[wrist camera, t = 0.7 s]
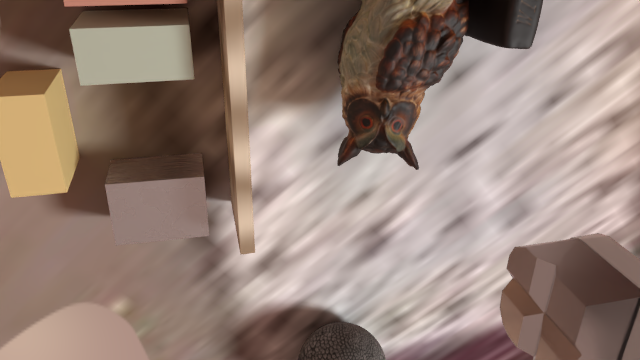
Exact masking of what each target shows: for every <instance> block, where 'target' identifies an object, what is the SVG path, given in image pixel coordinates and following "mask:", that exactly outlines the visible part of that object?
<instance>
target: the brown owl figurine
mask: <svg viewBox="0 0 640 360" xmlns="http://www.w3.org/2000/svg"><path fill="white" fill-rule="evenodd" d="M542 3H543V0H362V4H361V9H360V11H359V12H358V13H357V14H356V15H355V16H354V17H353V18H352V19H351V20H350V21H349V23H348V25H347V27H346V28H345V29H344V31H343V35H342V41H341V48H340V51H339V55H338V65H339V69H338V71H339V73H340V74H341V75H340V80H341V86H342V88H343V89H342V91H341V95H342V100H343V101H342V105H343V110H342V113H343V115H342V117H343V118H344V120H345V123H346V126H347V127H348V128H349V134H348V136H347V137H345V138H344V140H343V142H342V143H341V146H340V149H339V153H338V166H340V165H341V164H343V163H344V162H346V161H348V160H350V159H351V158H353V157H355V156H357V155H358V154H359V153H360V151H361V150H364V151H368V152H370V153H383V152H384V153H389V152H390V153H395V154H398V155H399V156H400V157H401V158H403V159H404V160H405V161H406V163H407V164H408V165H409V166H413V167H414V168H415V169H416V170H418V169H419V167H418V162H417V159H416V157H415V155H414V153H413V149H412V146H411V144H410V143H409V141H408V140H407V139H408V135H409V134H410V132H411V130H412V129H413V127H414V125H415V123H416V121H417V119H418V117H419V114H420V110H421V107H420V103H421V102H422V100H423V98H424V95H425V93H424V91H425V90H426V89H427V88H429V87H430V86H432V85H434V84H436V83H438V82H440V80H441V78H442V77H443V74H444V73H445V72H446V71H447V70H448V69H449V67H450V66H451V65H452V63H453V59H454V58H455V57H456V56H457V54H458V52H459V48H460V46H461V44H462V42H463V38H462V37H463V36H464V35H465V36H470V37H472V38H474V39H477V40H480V41H483V42H486V43H489V44H492V45H495V46H499V47H504V48H517V49H529V48H530V47H531V46H532V43H533V40H534V37H535V34H536V30H537V26H538V22H539V18H540V13H541V8H542Z"/></svg>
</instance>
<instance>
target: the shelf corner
mask: <svg viewBox="0 0 640 360" xmlns="http://www.w3.org/2000/svg"><path fill="white" fill-rule="evenodd" d="M217 10H218V24H219V38H220V52H221V66H222V79H223V93H224V107H225V121H226V135H227V149H228V163H229V177H230V190H231V203H232V208H233V214H234V220H235V225H236V231H237V236H238V242H239V248H240V253H241V254H248V253H255V244H254V225H253V205H252V185H251V166H250V146H249V127H248V107H247V88H246V68H245V48H244V29H243V9H242V0H217Z"/></svg>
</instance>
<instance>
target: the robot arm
mask: <svg viewBox="0 0 640 360" xmlns="http://www.w3.org/2000/svg"><path fill="white" fill-rule="evenodd" d="M507 270H508V271H509V273H510V274H511V276H512V277H513V279H512V280H511V281H510V282H509V283H508V285H507V286H506V287H505V288H504V289H503V290H502V296H501V303H500V311H501V317H502V322H503V325H504V328H505V330H506V332H507V334H508V336H509V337H510V339H511V340H512V342H513V343H514V344H515V346H516V347H517V348H519V349H521V350H523V351H524V352H526V353H528V354H530V355H532V356H534V358H533V360H640V260H639V259H638V258H637V257H636V256H634V255H633V254H632V253H630V252H629V251H628V250H626V249H625V248H624V247H622V246H621V245H620V244H618V243H617V242H616V241H615V240H613V239H612V238H611V237H609V236H606V235H603V234H599V233H597V234H591V235H585V236H579V237H573V238H570V239H567V240H560V241H553V242H546V243H540V244H533V245H526V246H519V247H515V248H514V249H513V251H512V252H511V254H510V255H509V260H508V265H507Z"/></svg>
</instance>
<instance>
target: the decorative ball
mask: <svg viewBox="0 0 640 360" xmlns="http://www.w3.org/2000/svg"><path fill="white" fill-rule="evenodd" d="M298 360H386V359H385V355H384V353H383V350H382V348H381V346H380V344H379V343H378V341H377V340H376V339H375V338H374V336H373V335H372V334H370V333H369V332H368V331H367V330H365V329H364V328H362V327H360V326H358V325H355V324H351V323H345V322H336V323H331V324H327V325H325V326H323V327H321V328H319V329H318V330H316V331H315V332H314V333H313V334H312V335H311V336H310V337H309V338H308V339H307V340H306V342H305V343H304V345H303V347H302V349H301V351H300V354H299V358H298Z"/></svg>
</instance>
